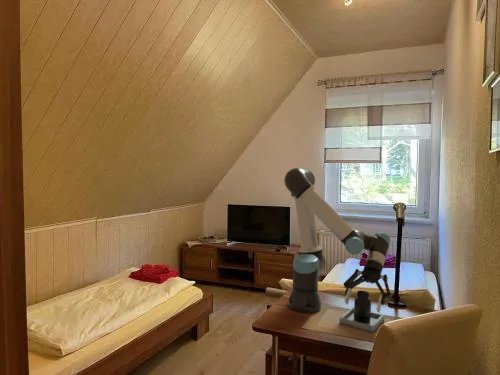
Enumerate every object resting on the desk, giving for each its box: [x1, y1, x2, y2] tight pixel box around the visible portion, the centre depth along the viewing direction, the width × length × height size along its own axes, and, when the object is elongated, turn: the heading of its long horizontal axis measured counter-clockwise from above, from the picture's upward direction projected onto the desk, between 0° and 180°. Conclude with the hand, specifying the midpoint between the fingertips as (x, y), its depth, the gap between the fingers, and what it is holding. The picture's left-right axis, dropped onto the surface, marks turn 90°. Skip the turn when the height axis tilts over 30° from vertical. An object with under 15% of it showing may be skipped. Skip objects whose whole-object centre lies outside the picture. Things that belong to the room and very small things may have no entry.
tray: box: [338, 306, 385, 334], centre depth 156 cm, size 14×15×2 cm
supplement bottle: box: [353, 290, 372, 323], centre depth 156 cm, size 7×7×12 cm
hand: (361, 306), depth 154 cm, fingers open, 13 cm apart
